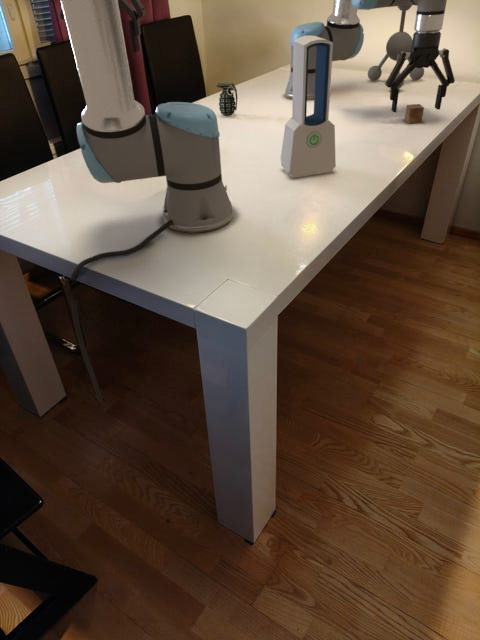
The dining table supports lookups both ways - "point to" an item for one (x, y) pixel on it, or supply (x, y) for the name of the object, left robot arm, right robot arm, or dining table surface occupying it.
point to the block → (414, 113)
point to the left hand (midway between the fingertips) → (110, 52)
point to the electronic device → (315, 130)
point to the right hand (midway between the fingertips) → (415, 109)
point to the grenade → (227, 99)
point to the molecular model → (397, 51)
